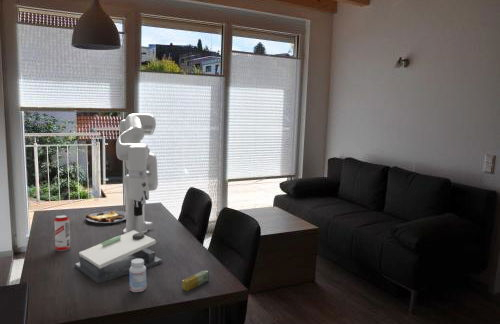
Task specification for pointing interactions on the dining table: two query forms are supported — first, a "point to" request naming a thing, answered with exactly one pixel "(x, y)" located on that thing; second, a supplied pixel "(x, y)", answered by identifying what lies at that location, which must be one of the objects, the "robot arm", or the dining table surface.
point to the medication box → (195, 280)
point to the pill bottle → (137, 275)
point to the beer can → (62, 233)
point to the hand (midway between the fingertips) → (138, 215)
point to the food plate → (106, 217)
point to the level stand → (117, 266)
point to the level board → (116, 248)
